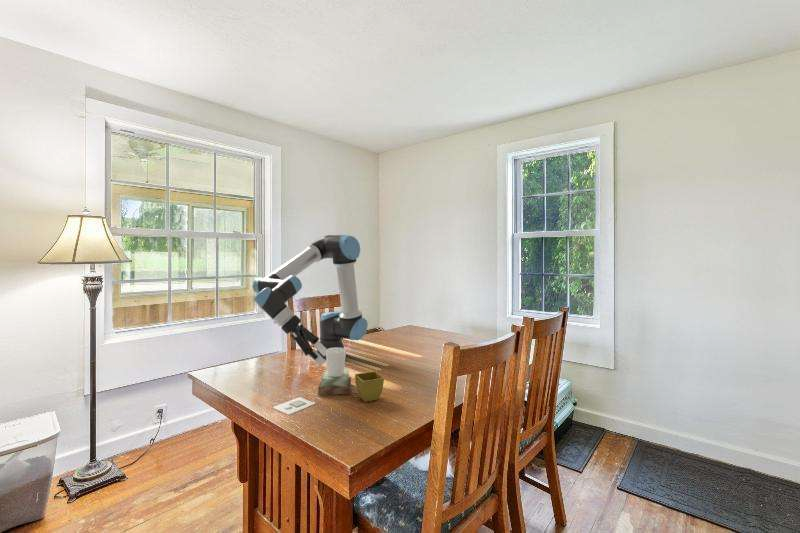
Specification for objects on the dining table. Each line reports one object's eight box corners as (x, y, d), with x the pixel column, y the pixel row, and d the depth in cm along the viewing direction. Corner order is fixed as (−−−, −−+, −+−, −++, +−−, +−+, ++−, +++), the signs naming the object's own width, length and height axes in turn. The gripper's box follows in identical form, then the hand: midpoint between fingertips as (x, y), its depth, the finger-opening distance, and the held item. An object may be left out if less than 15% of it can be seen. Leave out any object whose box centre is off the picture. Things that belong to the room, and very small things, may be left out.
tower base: (318, 394, 142) (318, 379, 142) (322, 383, 154) (322, 369, 153) (349, 394, 143) (349, 379, 143) (350, 383, 155) (351, 369, 154)
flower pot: (362, 405, 133) (362, 381, 133) (353, 396, 141) (354, 373, 141) (384, 401, 137) (384, 378, 137) (374, 393, 145) (375, 371, 145)
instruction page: (299, 397, 139) (299, 396, 139) (315, 403, 133) (315, 402, 133) (272, 407, 129) (272, 406, 129) (288, 415, 124) (288, 414, 124)
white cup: (337, 370, 154) (338, 346, 153) (349, 374, 148) (349, 350, 148) (321, 373, 148) (322, 349, 148) (332, 379, 143) (333, 353, 142)
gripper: (287, 321, 157) (321, 356, 159) (272, 334, 133) (313, 375, 135) (300, 309, 158) (334, 344, 160) (288, 319, 133) (328, 361, 135)
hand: (324, 358), depth 147 cm, fingers open, 13 cm apart
